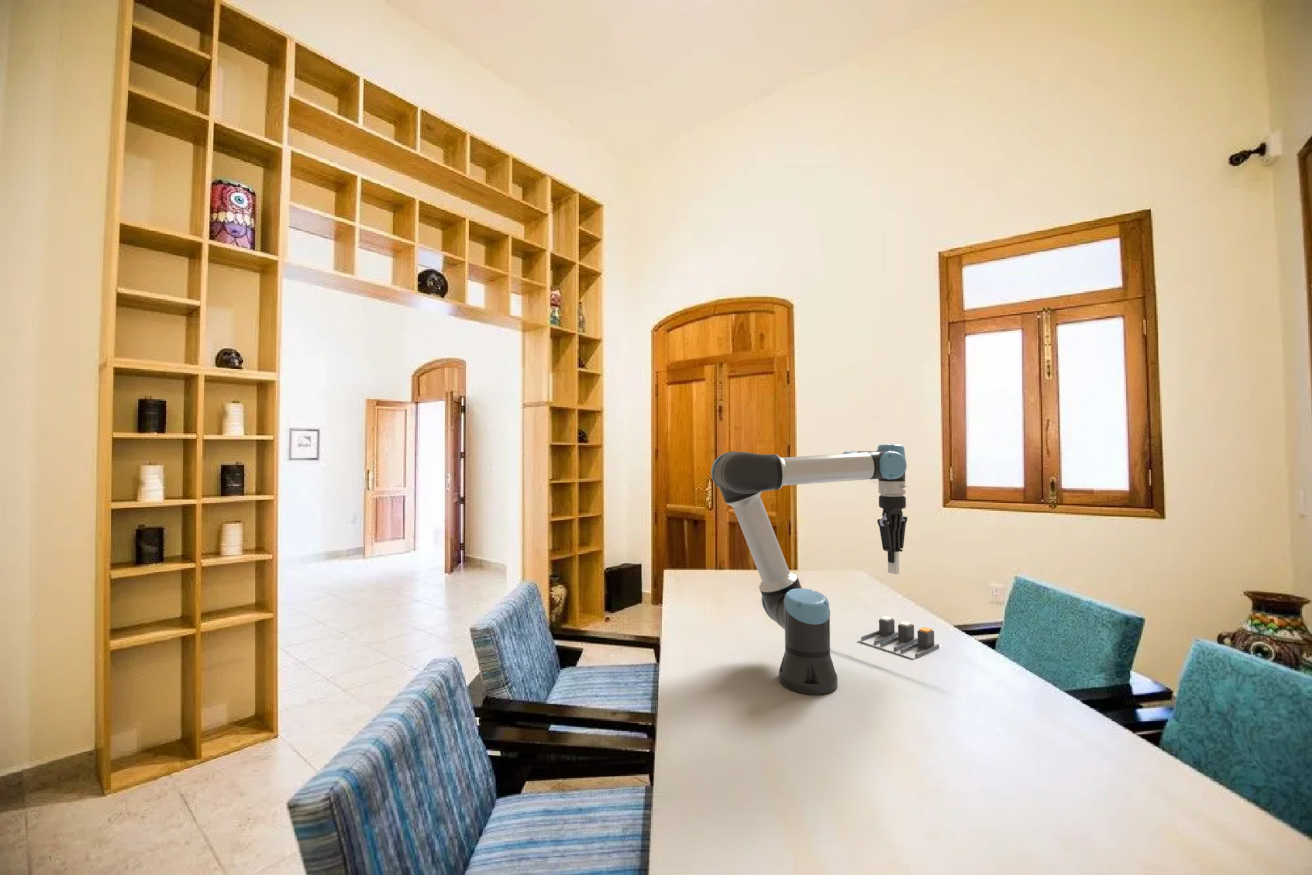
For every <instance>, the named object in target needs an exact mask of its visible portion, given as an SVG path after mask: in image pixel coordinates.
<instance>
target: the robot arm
mask: <svg viewBox="0 0 1312 875" xmlns="http://www.w3.org/2000/svg"><path fill="white" fill-rule="evenodd" d="M906 471H907V460H906V451H905V447H904V446H903V444H898V443H897V444H878V446H877V450H873V451H872V450H867V451H866V450H852V451H851V450H850V451H844V452H842V453H836V454H820V455H819V454H817V455H805V456H802V455H801V456H787V457H781V456H780V455H778V454H776V453H775V454H774V453H773V454H763V453H754V452H746V451H736V450H735V451H734V450H733V451H732V450H731V451H729V452H725V453H722V454H721V455H719V456H718V457H717V458H716V459H715V460H714V462H713V463H712V466H711V471H710V472H711V478H712V481H713V483H714V484H715V485H716V487H717V488H718V489H719V490H720V493H721V495H722V498H723V499H724V502H725V504H726V505H728V506H730V507H732V510H733V511H734V514H735V516H736V520H737V522H738V523H739V526H740V529H741V531H742V532H741V533H742V534H743V537H744V539H745V542H746V545H747V547H748V549H749V551H750V554H751V558H752V559H753V562H754V565H755V567H756V569H757V573H758V574H759V577H760V579H761V580H760V581H761V582H760V584H759V587H758V589H759V591H760V593H761V604H762V607H763V610H764V611H765V613H766V615H767V616H768V617H769V618H770V619H771V620H772V621H774V622H775V623H776V624H777V625H779V626H780V627H781V628H782V629H783V630H784V654H783V656H782V661H781V663H780V667H779V669H778V681H779V683H780V684H781V685H782V686H783V687H784V688H786V689H788V690H790V691H792V692H796V693H799V694H804V695H805V694H806V695H815V696H816V695H817V696H818V695H820V696H821V695H827V694H830V693H832V692H834V691H836V690H837V688H838V686H839V685H838V679H839V678H838V674H837V672H836V670H835V667H834V663H833V660H832V656H831V626H830V625H831V624H830V623H831V619H830V617H831V610H830V602H829V600H828V598H827V597H826V595H824V594H822V593H821V592H819V591H817V590H813V589H809V588H803V587H802V585H801V582H800V581H799V577H798V574H796V573H795V572H793V571H790V569H789V567H788V564H787V562H786V559H785V556H784V554H783V551H782V549H781V546H780V543H779V541H778V539H777V538H778V537H777V536H776V533H775V531H774V528H773V525H772V523H771V521H770V518H769V515H768V513H767V510H766V508H765V505H764V502H763V501H762V498H761V496H762V493H763V492H769V491H778V490H781V489H782V487H783V486H795V485H808V484H809V485H810V484H823V483H836V482H837V483H838V482H850V481H851V482H853V481H864V480H878V493H879V496H878V507H879V508H881V509H882V513H881V518H880V519H879V518H878V519H877V521H876V522H877V525H878V527H879V533H880V539H881V545H882V550H884V551H885V552H887V573H889V574H894V575H899V574H900V552H903V548H904V546H905V544H904V543H905V536H906V535H905V534H906V525H907V522H908V517H907V516H904V515H903V514H904V512H903V510H905V509H906V508H907V497H906V496H905V494H906V488H907V485H906Z"/></svg>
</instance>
